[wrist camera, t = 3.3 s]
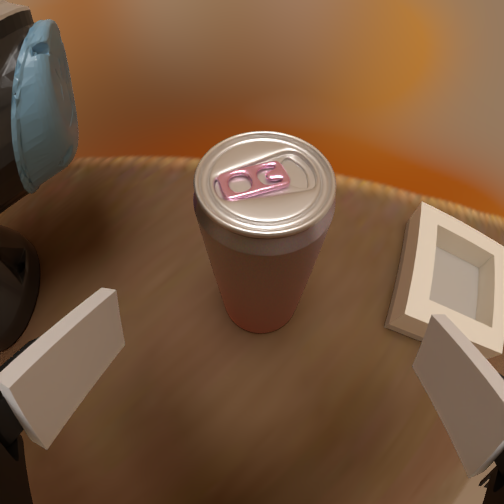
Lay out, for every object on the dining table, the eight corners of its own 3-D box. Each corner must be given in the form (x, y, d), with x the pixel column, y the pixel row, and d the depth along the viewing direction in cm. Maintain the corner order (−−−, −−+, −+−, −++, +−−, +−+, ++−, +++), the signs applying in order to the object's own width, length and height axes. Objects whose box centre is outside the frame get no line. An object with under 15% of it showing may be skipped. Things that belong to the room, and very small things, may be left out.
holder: (384, 327, 22) (404, 314, 19) (406, 223, 28) (421, 201, 24) (476, 362, 20) (502, 353, 16) (485, 263, 25) (504, 247, 21)
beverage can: (216, 280, 25) (177, 146, 12) (280, 260, 26) (301, 118, 13) (237, 344, 22) (208, 262, 9) (306, 320, 23) (369, 213, 10)
